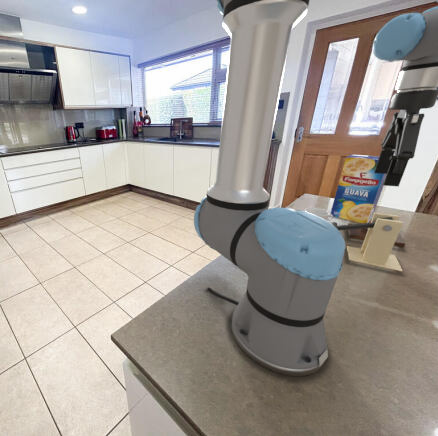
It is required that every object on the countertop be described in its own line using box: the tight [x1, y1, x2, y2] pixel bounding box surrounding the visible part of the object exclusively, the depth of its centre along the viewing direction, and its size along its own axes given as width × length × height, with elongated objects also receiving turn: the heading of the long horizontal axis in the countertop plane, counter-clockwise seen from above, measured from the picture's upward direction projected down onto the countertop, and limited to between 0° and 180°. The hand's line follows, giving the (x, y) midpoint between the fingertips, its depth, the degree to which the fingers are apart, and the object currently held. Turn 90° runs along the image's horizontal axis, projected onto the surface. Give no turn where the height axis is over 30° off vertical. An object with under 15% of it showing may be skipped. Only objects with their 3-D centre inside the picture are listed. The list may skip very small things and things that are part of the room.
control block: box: [347, 223, 406, 248], centre depth 72 cm, size 12×9×4 cm
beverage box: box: [330, 154, 387, 224], centre depth 83 cm, size 7×11×22 cm, turn 37°
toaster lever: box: [330, 217, 393, 231], centre depth 61 cm, size 12×6×2 cm, turn 56°
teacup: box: [303, 207, 334, 223], centre depth 83 cm, size 10×10×5 cm
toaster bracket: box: [346, 211, 404, 272], centre depth 60 cm, size 10×8×13 cm
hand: (385, 179), depth 64 cm, fingers open, 13 cm apart
